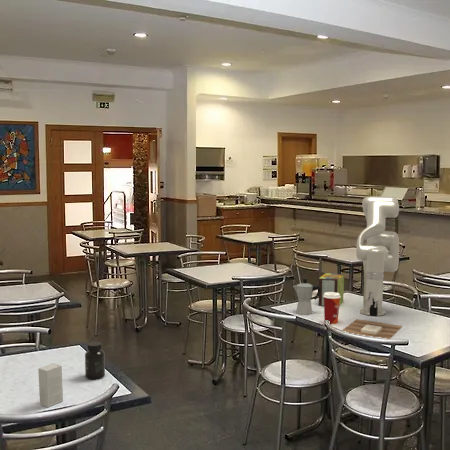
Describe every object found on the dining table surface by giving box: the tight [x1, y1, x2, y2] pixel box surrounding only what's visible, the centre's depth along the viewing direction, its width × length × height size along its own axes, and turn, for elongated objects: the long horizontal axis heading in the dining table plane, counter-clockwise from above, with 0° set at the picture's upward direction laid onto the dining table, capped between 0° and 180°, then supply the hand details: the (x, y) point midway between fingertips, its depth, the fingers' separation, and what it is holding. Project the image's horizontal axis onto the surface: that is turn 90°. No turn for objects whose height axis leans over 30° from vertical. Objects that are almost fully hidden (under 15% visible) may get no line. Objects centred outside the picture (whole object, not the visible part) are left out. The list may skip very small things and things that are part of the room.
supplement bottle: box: [84, 341, 106, 381], centre depth 201 cm, size 7×7×12 cm
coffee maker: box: [292, 277, 322, 316], centre depth 289 cm, size 15×9×18 cm, turn 83°
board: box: [341, 318, 403, 340], centre depth 258 cm, size 24×22×1 cm
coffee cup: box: [323, 292, 340, 325], centre depth 269 cm, size 8×8×15 cm
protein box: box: [318, 272, 345, 307], centre depth 308 cm, size 10×15×16 cm
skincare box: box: [37, 362, 64, 408], centre depth 179 cm, size 6×4×12 cm
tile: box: [361, 325, 382, 335], centre depth 254 cm, size 2×7×9 cm
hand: (373, 315), depth 255 cm, fingers closed
